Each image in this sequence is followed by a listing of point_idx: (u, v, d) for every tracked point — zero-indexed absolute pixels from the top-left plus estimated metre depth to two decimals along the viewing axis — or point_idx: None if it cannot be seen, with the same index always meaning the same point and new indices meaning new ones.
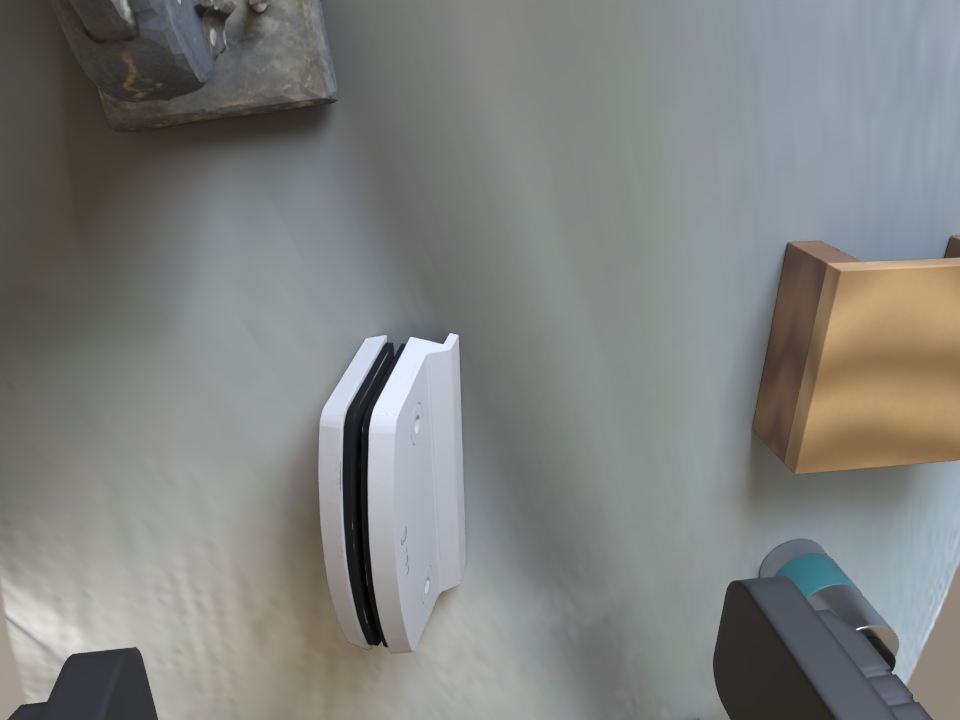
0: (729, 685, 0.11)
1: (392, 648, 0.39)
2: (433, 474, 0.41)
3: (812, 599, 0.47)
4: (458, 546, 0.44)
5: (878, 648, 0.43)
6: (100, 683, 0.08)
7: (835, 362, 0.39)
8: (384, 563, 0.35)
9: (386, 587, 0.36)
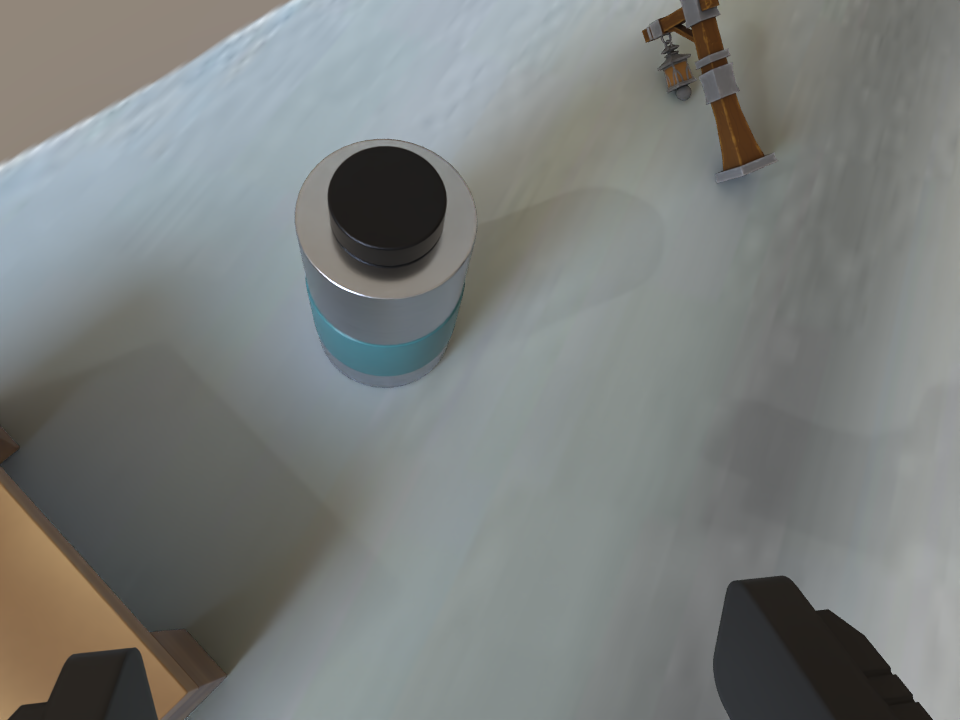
0: (729, 685, 0.11)
1: None
2: None
3: (384, 341, 0.22)
4: None
5: (340, 231, 0.18)
6: (100, 683, 0.08)
7: None
8: None
9: None
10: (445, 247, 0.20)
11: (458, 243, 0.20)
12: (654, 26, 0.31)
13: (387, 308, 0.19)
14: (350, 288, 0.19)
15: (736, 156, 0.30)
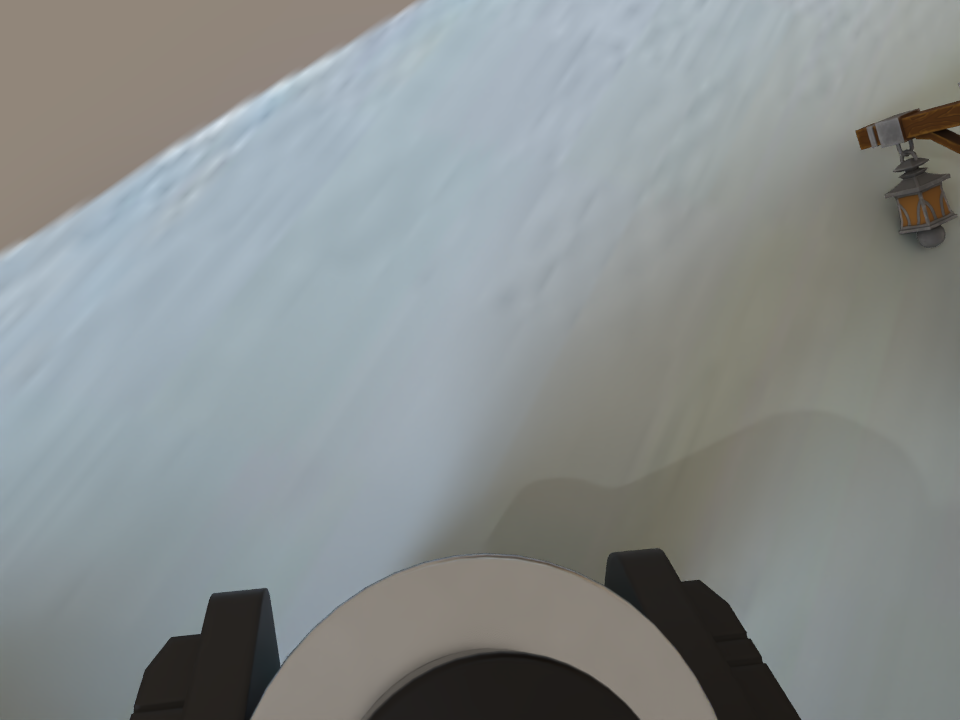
0: None
1: None
2: None
3: None
4: None
5: None
6: (246, 616, 0.09)
7: None
8: None
9: None
10: None
11: None
12: (886, 127, 0.18)
13: None
14: None
15: None
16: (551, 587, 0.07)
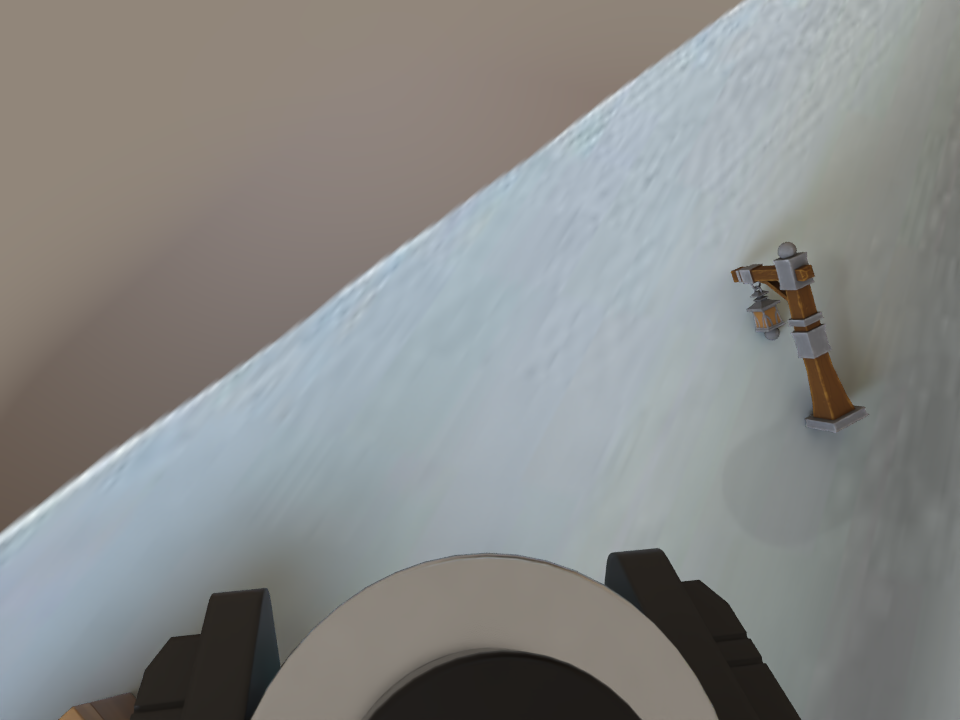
0: None
1: None
2: None
3: None
4: None
5: None
6: (246, 616, 0.09)
7: None
8: None
9: None
10: None
11: None
12: (744, 273, 0.33)
13: None
14: None
15: (828, 410, 0.31)
16: (552, 587, 0.07)
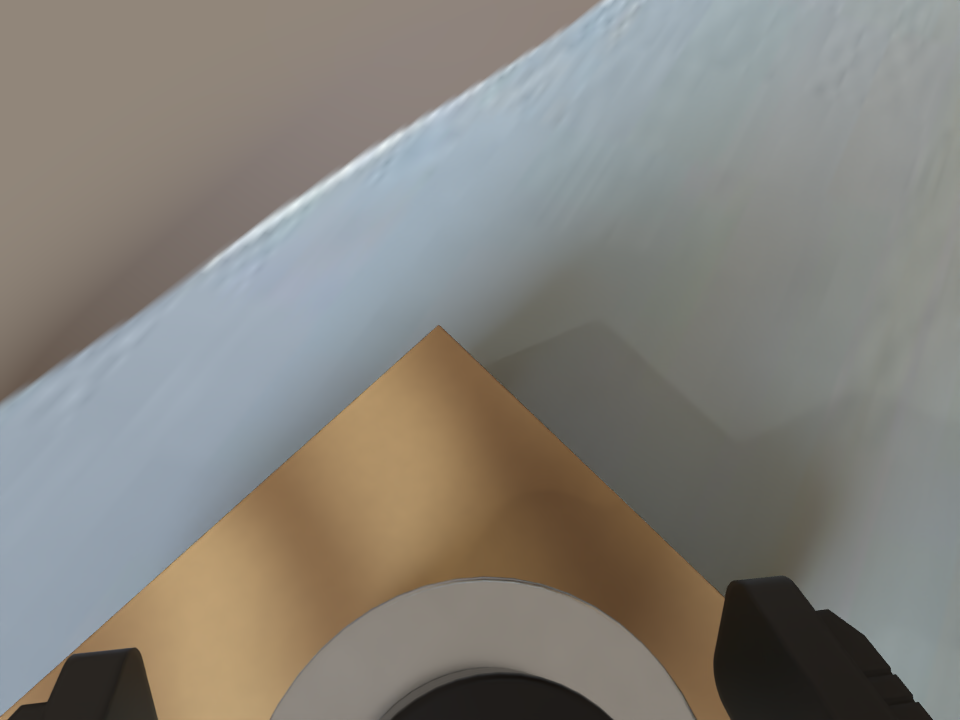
0: (729, 685, 0.11)
1: None
2: None
3: None
4: None
5: None
6: (100, 683, 0.08)
7: None
8: None
9: None
10: None
11: None
12: None
13: None
14: None
15: None
16: (545, 609, 0.08)
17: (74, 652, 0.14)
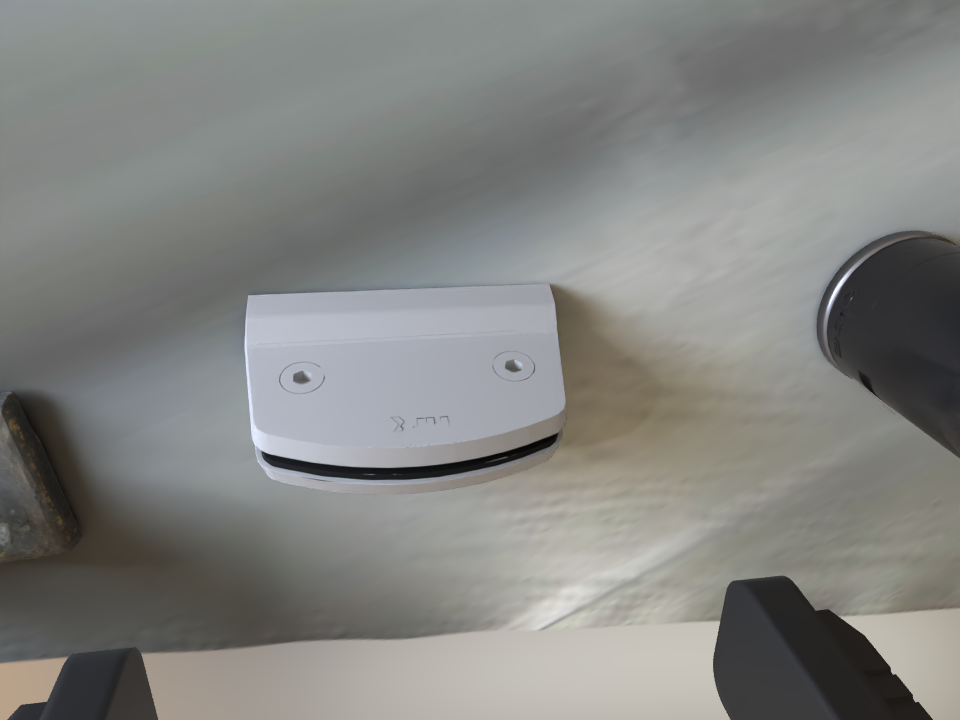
0: (729, 685, 0.11)
1: (548, 433, 0.36)
2: (393, 340, 0.38)
3: None
4: (502, 307, 0.39)
5: None
6: (100, 683, 0.08)
7: None
8: (409, 456, 0.34)
9: (442, 453, 0.34)
10: None
11: None
12: None
13: None
14: None
15: None
16: None
17: None
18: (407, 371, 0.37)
